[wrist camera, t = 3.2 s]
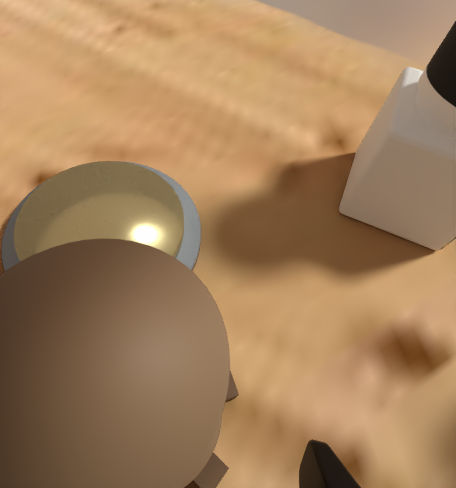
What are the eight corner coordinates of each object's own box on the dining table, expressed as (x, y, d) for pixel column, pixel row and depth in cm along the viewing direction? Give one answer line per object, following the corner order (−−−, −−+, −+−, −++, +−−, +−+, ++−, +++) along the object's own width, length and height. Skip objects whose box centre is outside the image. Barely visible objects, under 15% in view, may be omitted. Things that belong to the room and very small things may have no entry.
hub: (215, 227, 20) (216, 217, 19) (94, 338, 16) (89, 333, 15) (115, 152, 22) (112, 140, 22) (-13, 232, 18) (-23, 222, 17)
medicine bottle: (438, 254, 22) (658, 88, 12) (335, 214, 23) (456, 27, 12) (444, 182, 25) (615, 8, 15) (355, 150, 26) (461, -35, 16)
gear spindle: (264, 407, 16) (403, 345, 6) (156, 568, 13) (20, 1107, 2) (153, 308, 18) (107, 128, 8) (34, 424, 15) (-325, 380, 4)
